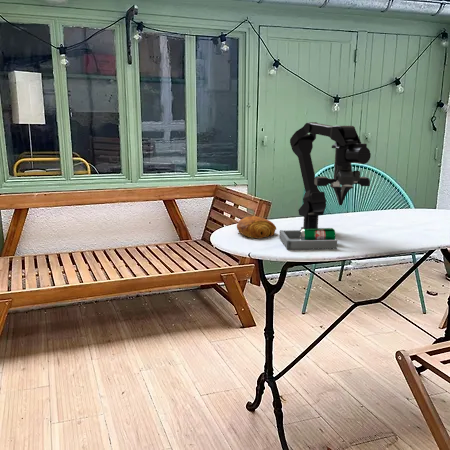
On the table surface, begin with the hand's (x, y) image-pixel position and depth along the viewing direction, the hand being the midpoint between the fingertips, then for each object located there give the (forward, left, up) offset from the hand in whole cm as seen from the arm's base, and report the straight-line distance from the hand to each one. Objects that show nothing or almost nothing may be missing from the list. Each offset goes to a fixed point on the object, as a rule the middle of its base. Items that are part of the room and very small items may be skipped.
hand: (340, 205), depth 166 cm
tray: (+5, -13, -13) cm, 19 cm away
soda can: (+5, -3, -10) cm, 12 cm away
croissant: (-10, -29, -13) cm, 34 cm away
